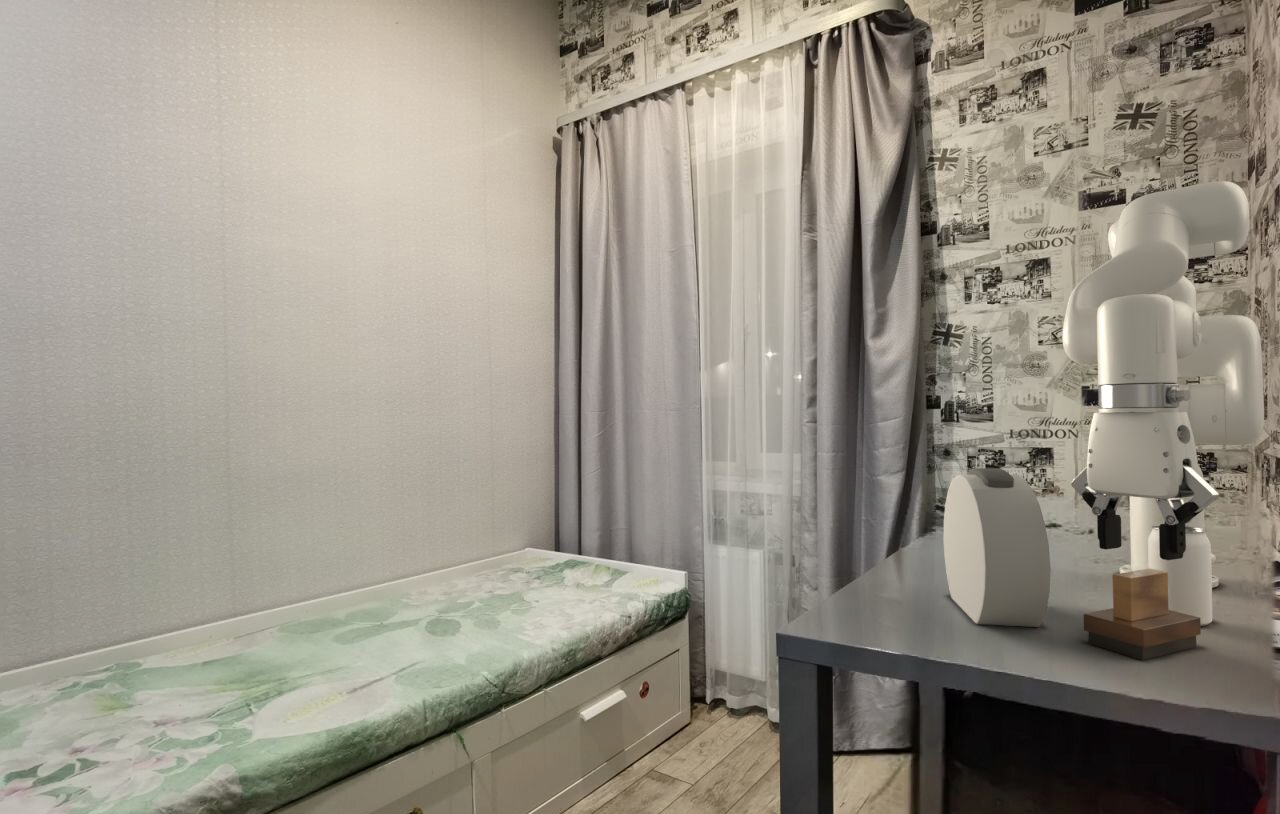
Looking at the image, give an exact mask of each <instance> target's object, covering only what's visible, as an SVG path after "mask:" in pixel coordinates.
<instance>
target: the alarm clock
mask: <svg viewBox="0 0 1280 814" xmlns="http://www.w3.org/2000/svg"><path fill="white" fill-rule="evenodd" d="M1046 527H1047V526H1046V523H1045V518H1044V516H1043V512H1042V508H1041V505H1040V503H1039V500H1038V499H1037V496H1036V494H1035V492H1034V489H1033V488H1032V487H1031V485H1030V484H1029V482H1027V480H1026V479H1024V478H1023V477H1022V476H1019V475H1018V474H1011V473H1010V472H1008V471H1007V470H1005V469H1002V468H998V467H997V468H995V467H994V468H993V467H991V468H987V467H986V468H985V467H980V468H979V467H974V468H972V469H970V470H969V471H968V472H966V474H958V475H956V476H955V477H954V478H953V479H952V480H951V482H950V484H949V486H948V490H947V493H946V500H945V504H944V515H943V555H944V563H945V572H946V573H945V574H946V578H947V585H948V590H949V593H950V594H949V595H950V598H951V599H952V600H953V601H954V602H955V604H957V606H959V607H960V608H961V610H963V611H964V613H965V614H967V616H968V617H969V618H970V619H971V620H972V621H973V622H974V623H975V624H977V625H989V626H1010V627H1027V628H1028V627H1031V628H1039V627H1040V626H1041V625H1042V623H1043V621H1044V618H1045V616H1046V613H1047V609H1048V605H1049V598H1050V592H1051V573H1052V572H1051V557H1050V554H1051V553H1050V544H1049V539H1048V533H1047V528H1046Z"/></svg>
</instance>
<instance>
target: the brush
mask: <svg viewBox="0 0 1280 814" xmlns="http://www.w3.org/2000/svg"><path fill="white" fill-rule="evenodd" d="M1112 603H1113V604H1112V608H1106V609H1102V610H1096V611H1091V612H1086V613H1083V631H1086V632H1087V636H1088V638H1087V640H1088V641H1087V642H1088V644H1090V645H1092V646H1096V647H1100V648H1102V649H1106V650H1108V651H1113V652H1115V653H1119V654H1121V655H1125V656H1128V657H1131V658H1134V659H1138V660H1141V661H1145V660H1149V659H1153V658H1157V657H1162V656H1165V655H1170V654H1173V653H1177V652H1182V651H1185V650H1189V649H1194V648H1197V636H1200V635H1201V633H1202V632H1201V626H1200V617H1196V616H1191V615H1187V614H1183V613H1179V612H1175V611H1170V610H1169V608H1168V572H1165V571H1160V570H1155V569H1144V570H1138V571H1131V572H1125V573H1120V572H1119V573H1113V574H1112Z"/></svg>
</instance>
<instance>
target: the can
mask: <svg viewBox="0 0 1280 814" xmlns="http://www.w3.org/2000/svg"><path fill="white" fill-rule="evenodd" d="M1159 526H1160V525H1154V526H1152V528H1153V530H1152V532H1151V534H1150V535H1149V537H1148V563H1149V569H1155V570H1160V571H1165V572H1168V608H1169V610H1170V611H1175V612H1179V613H1183V614H1187V615H1191V616H1196V617H1200V627H1205V626H1208V625H1210V624H1211V623H1212V622H1213V588H1212V575H1213V573H1212V572H1213V571H1212V564H1211V553H1212V545H1211V541H1210V539H1209V538H1208V536H1207V529H1205V530H1204V529H1201V528H1196V527H1189V526H1185V531H1186V550H1185V552H1184V553H1183V557H1182V558H1181V559H1174V560H1163V559H1162V558H1160V547H1159Z"/></svg>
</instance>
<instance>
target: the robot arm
mask: <svg viewBox="0 0 1280 814" xmlns="http://www.w3.org/2000/svg"><path fill="white" fill-rule="evenodd" d="M1249 232H1250V204H1249V200H1248V198H1247V195H1246V193H1245V191H1244V190H1243V188H1242V187H1241V186H1240V185H1238V184H1237V183H1235V182H1233V181H1227V180H1216V181H1209V182H1205V183H1198V184H1193V185H1189V186H1183V187H1176V188H1172V189H1167V190H1166V189H1165V190H1160V191H1154V192H1151V193H1148V194H1144V195H1141V196H1139V197H1137V198H1135V199H1133V200H1132V201H1130V202H1129V203H1128V204H1127V205H1126V206H1125V207H1124V208H1123V210H1122V211H1121V213H1120V215H1119V218H1118V220H1116V221H1115V222H1113V224H1111V225H1110V227H1109V229H1108V232H1107V233H1108V234H1107V244H1108V249H1109V253H1110V256H1111V258H1110V259H1108V260H1107V261H1105V262H1104V263H1102V264H1101V265H1100V266H1098V267H1097V268H1095V269H1094V270H1093V271H1091V272H1090V273H1089V274H1087V275H1086V276H1085V277H1084V278H1082V279H1081V280H1080V281H1079V282H1078V283H1077V284H1076V285H1075V287H1074V288H1073V289H1072V292H1071V293H1070V295H1069V298H1068V301H1067V305H1066V310H1065V314H1064V319H1063V326H1062V337H1061V339H1062V346H1063V350H1064V353H1065V355H1066V356H1067V357H1068V358H1069V359H1070V360H1071V361H1073V362H1074V363H1076V364H1080V365H1097V393H1098V394H1097V395H1098V396H1097V398H1098V399H1097V400H1098V404H1097V405H1098V412H1093V416H1092V419H1091V423H1090V428H1089V434H1088V441H1087V452H1086V467H1085V468H1084V469H1083V470H1082V471H1081V472H1079V474H1078V475H1076V477H1074V479H1073V480H1072V481H1071V482H1070V485H1071V487H1072V488H1073V489H1074V490H1075V491H1076V492H1077V493H1078V495H1080V496H1081V497H1082V499H1083V501H1084V502H1085V504H1087V505H1088V506H1089V508H1091V513H1092V514H1093V515H1094V516H1096V520H1097V521H1096V523H1097V526H1096V527H1097V528H1096V529H1097V539H1098V545H1099V548H1100V549H1101V550H1114V549H1120V548H1121V547H1122V545H1123V543H1122V517H1121V515H1120V514H1117V510H1118V507H1119V505H1120V502H1121V501H1122V497H1123V496H1124V497H1129V528H1130V530H1129V531H1130V532H1129V534H1130V537H1129V539H1130V564H1124V565H1122V566H1121V565H1120V567H1119V573H1125V572H1131V571H1138V570H1144V569H1149V563H1148V537H1149V535H1150V534H1151V532H1152V530H1153V528H1152V526H1154V525H1160V526H1159V547H1160V558H1162V559H1163V560H1174V559H1181V558H1182V557H1183V553H1184V552H1185V550H1186V531H1185V526H1189V527H1196V528H1201V529H1204V530H1206V527H1205V526H1206V523H1205V509H1206V508H1208V507H1209V506H1210V505H1211V504H1213V503H1214V502H1216V501H1217V500H1218V499H1220V494H1219V492H1218V491H1217V490H1216V489H1214V488H1213V486H1212V485H1210V484H1209V483H1208V482H1207V481H1206V480H1205V479H1204V474H1203V471H1202V468H1201V467H1200V466H1199V463H1198V455H1197V448H1196V445H1201V446H1202V445H1205V446H1206V445H1207V446H1210V445H1212V446H1240V445H1249V444H1252V443H1255V442H1256V441H1258V440H1259V439H1260V438H1261V436H1262V434H1263V431H1264V426H1265V400H1264V399H1265V398H1264V373H1263V351H1262V350H1263V349H1262V341H1261V335H1260V331H1259V328H1258V327H1257V324H1256V322H1254V320H1252V319H1251V318H1250V317H1248V316H1245V315H1241V314H1221V315H1209V316H1200V314H1199V313H1198V311H1197V290H1196V287H1195V285H1194V284H1193V283H1192V281H1190V280H1189V279H1188V278H1187V277H1186V276H1185V274H1186V272H1187V270H1188V268H1189V259H1196V258H1205V257H1213V256H1223V255H1227V254H1232V253H1234V252H1236V251H1238V250H1240V249H1241V248H1242V247H1243V246H1244V245H1245V243H1246V242H1247V238H1248V237H1249ZM1194 377H1196V378H1197V377H1200V378H1201V377H1217V378H1220V379H1221V380H1222V381H1223V382H1224V383H1210V384H1209V383H1206V384H1178V378H1194ZM1216 562H1217V557H1216V555H1215V554H1214V553H1213V552H1211V565H1213V564H1215V563H1216ZM1219 585H1220V579H1219V577H1218V576H1217V575H1215V574H1212V589H1214V588H1216V587H1218V586H1219Z"/></svg>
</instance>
